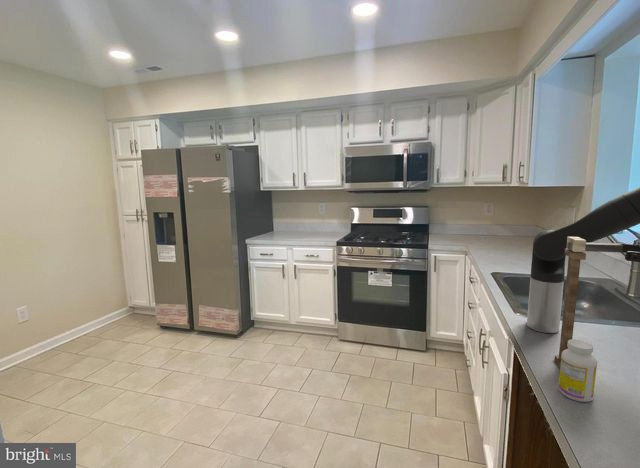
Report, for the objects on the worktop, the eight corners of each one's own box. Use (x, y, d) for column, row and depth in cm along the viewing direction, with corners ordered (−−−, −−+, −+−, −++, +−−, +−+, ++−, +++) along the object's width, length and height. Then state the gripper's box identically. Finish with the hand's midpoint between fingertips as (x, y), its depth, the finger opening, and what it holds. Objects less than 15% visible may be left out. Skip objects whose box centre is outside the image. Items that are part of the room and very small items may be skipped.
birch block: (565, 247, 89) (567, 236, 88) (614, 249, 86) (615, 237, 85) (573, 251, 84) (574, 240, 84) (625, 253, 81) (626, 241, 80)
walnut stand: (554, 359, 95) (565, 248, 89) (564, 360, 94) (576, 248, 89) (562, 371, 89) (574, 253, 84) (573, 372, 88) (586, 253, 83)
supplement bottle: (577, 384, 83) (583, 336, 81) (600, 402, 77) (607, 350, 75) (551, 386, 83) (556, 337, 81) (572, 403, 76) (577, 351, 74)
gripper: (705, 237, 80) (616, 231, 88) (738, 252, 68) (632, 242, 75) (697, 268, 81) (611, 258, 89) (729, 287, 69) (625, 274, 77)
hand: (621, 251), depth 82 cm, fingers open, 8 cm apart
